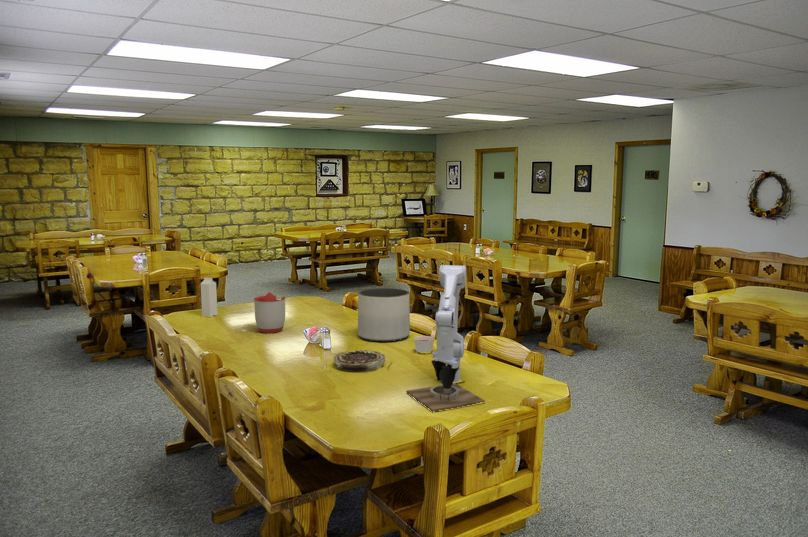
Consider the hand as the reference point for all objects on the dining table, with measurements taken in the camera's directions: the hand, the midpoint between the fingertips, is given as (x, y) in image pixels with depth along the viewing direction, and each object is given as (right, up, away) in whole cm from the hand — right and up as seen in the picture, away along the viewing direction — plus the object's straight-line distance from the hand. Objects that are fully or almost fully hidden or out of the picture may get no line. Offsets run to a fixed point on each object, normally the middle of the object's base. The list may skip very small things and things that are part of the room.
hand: (444, 382), depth 206 cm
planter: (-24, +6, +85) cm, 89 cm away
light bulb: (+1, -5, +1) cm, 5 cm away
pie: (-33, -1, +39) cm, 51 cm away
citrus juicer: (-81, +8, +96) cm, 126 cm away
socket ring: (0, -6, +1) cm, 6 cm away
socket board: (0, -6, +1) cm, 6 cm away
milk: (-124, +13, +129) cm, 179 cm away
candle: (-5, +2, +58) cm, 58 cm away
